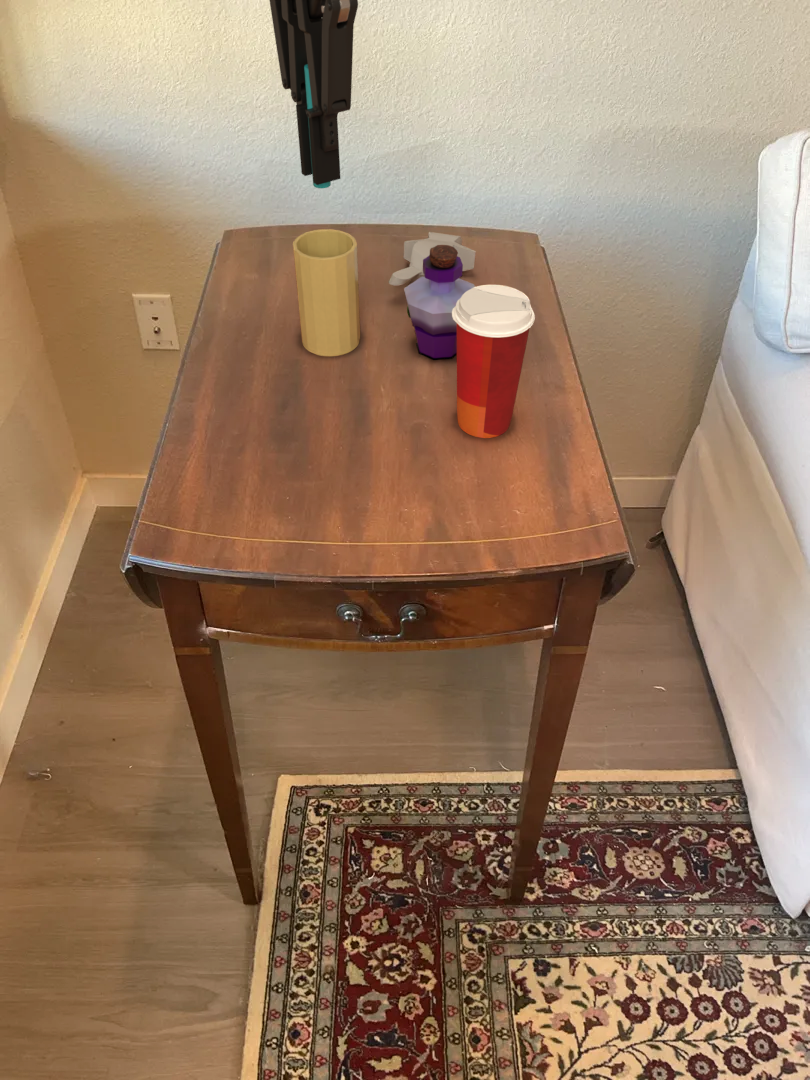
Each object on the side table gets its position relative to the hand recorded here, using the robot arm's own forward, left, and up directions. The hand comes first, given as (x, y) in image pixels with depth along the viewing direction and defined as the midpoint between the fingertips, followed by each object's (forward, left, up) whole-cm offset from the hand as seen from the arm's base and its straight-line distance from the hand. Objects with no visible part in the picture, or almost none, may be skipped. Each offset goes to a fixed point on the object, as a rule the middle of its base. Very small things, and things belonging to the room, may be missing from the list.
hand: (320, 175), depth 84 cm
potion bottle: (+10, -8, -20) cm, 23 cm away
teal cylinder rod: (0, 0, -1) cm, 1 cm away
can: (0, 0, -19) cm, 19 cm away
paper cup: (+6, -22, -20) cm, 30 cm away
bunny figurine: (+18, +5, -20) cm, 27 cm away
